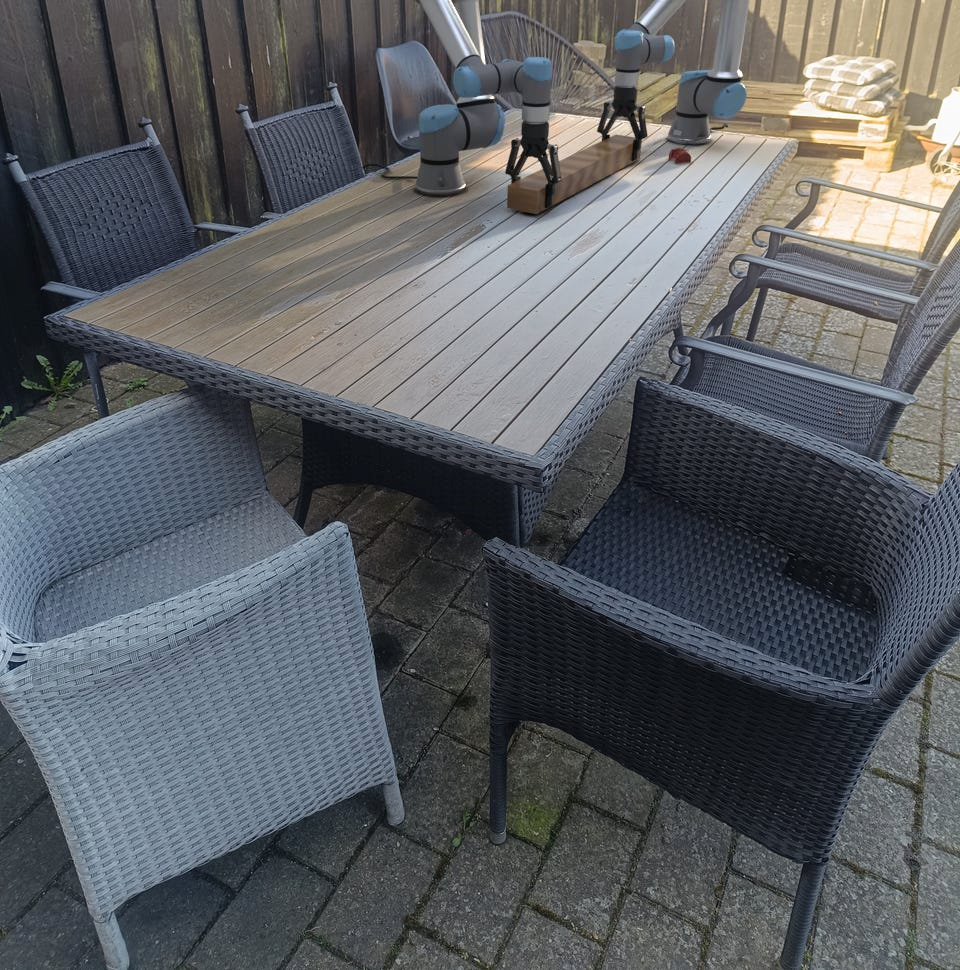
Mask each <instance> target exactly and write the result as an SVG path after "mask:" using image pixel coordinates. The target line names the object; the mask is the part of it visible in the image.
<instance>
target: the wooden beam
mask: <svg viewBox="0 0 960 970" xmlns="http://www.w3.org/2000/svg"><path fill="white" fill-rule="evenodd" d="M635 139H636V138H635V136H629V135H623V134H613V135H610V137H609V138H607V139H605V140H603V141H602V140H601V141H598V142H597V143H595V144H591V145H590V146H588V147H586V148H584V149H581V150H580V151H578V152H575V153H573V154H571V155H569V156H567V157H565V158H562V159H559V164H560V170H561V176H562V181H560V182H558V183H556V184H555V194H554V195H553V196H552V206H555V205H557V204H559V203H561V202H562V201H564V200H566V199H567V198H570V197H571V196H573V195H575V194H577V193H579V192H581V191H582V190H584V189H586V188H588V187H590V186H591V185H594V184H595V183H597V182H599V181H601V180H603V179H605V178H607V177H608V176H610V175H612V174H613V173H615V172H616V173H617V172H618V171H619V170H621V169H623V168H625V167H627V166H629V165H631V164H632V163H634V162H636V161H637V160H640V159H641V153H642V147H641V148H640V150H638V152H637V159H636V160H635V161H631V159H632V149H633V140H635ZM642 143H643V139H642V140H641V145H642ZM550 166H551V164H550ZM551 168H552V166H551ZM546 184H548V181H547V178H546V176H545V173H544V171H543V168H541V169H539V170H537V171H535V172H533V173H531V174H528V175H526V176H524V177H523V178H522V177H521V179H520V180H518V181H516V182H514V183H511V182H510V183H509V184H507V191H506V192H507V193H506V194H507V195H506V196H507V199H506V209H509V210H512V211H513V210H514V211H518V212H524V213H529V214H533V215H539V214H540V213H542V212H543V211H545V210H548V209H549V208H551V207H552V206H550V207H548V208H545V190H546Z"/></svg>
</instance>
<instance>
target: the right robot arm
mask: <svg viewBox="0 0 960 970" xmlns="http://www.w3.org/2000/svg"><path fill="white" fill-rule="evenodd" d="M686 1H687V0H654V1H653V2H651V4H650V5H649V6H648V7H647V8H646V9H645V11H644V12H643V13H642V14H641V15H640V16H639V17H638V18H637V20H636V21H635V22H634V23H633V24H632V25H631V26H630V27H629V28H625V29H621V30H619V31H618V32H617V34H616V36H615V37H614V41H613V45H614V49H615V51H616V63H615V65H616V66H615V77H614V85H615V86H614V87H613V100H612V101H611V100H607V101H604V103H603V111H602V114H601V117H600V120H599V123H598V126H597V129H596V132H597V133H599V134H601V141H603V140H605V139H607V138H609V137H611V134H609V133H610V130H611V129H612V128H613V126H614V124H615V122H616V121H617V119H618V118H620V117H622V118H627V121H629V124H630V127H631V131H632V133H633V137H635V138H636V139H635V140H633V149H632V159H631V161H634V162H636V161H637V160H636V159H637V152H638V150H640V148H641V149H642V144H641V140H642V141H643V140H644V139H646V138H648V129H647V122H646V121H647V120H646V113H645V112H646V105H640V104H638V103H637V102H638V101H637V99H638V91H639V87H638V85H639V81H640V71H641V66H642V65H644V64H654V63H656V64H657V63H664V62H668V61H670V60H671V59H672V58H673V56H674V54H675V47H676V46H675V41H674V39H673V37H672V36H670V35H669V34H667V35H664V34H661V35H657V33H658V32H659V31H660V30H661V29H662V28H663V26H665V24H666V23H667V22H668V21H669V20H670V19H671V18H672V16H673V15H674V14H675V13H676V12H677V11H678V10H679V9H680V8H681V7H682V5H683V4H684V3H685V2H686ZM749 6H750V0H721V6H720V11H719V12H720V13H719V19H718V28H717V34H716V42H715V49H714V55H713V64H712V68H711V69H704V70H701V69H700V70H689V71H684V72H683V73H682V74H681V75H680V80H679V83H678V90H677V91H678V92H677V98H676V99H677V100H676V107H675V109H676V110H675V117H674V119H673V121H672V123H671V126H670V128H669V131H668V133H667V140H668V141H669V142H671V143H675V144H678V145H689V146H693V145H694V146H696V145H698V146H699V145H705V144H709V143H710V142H711V137H712V135H711V133H712V131H720V130H723V129H725V128H729V124H728V123H727V122H726V123H723V125H721V126H714V127H710V121H709V116H712V117H714V118H717V119H724V120H728V119H729V120H730V119H732V118H734V117H735V116H736V115H737V114H738V113H739V112H740V111H741V110H742V109H743V107H744V105H745V104H746V101H747V95H748V94H747V92H748V91H747V88H746V86H745V85H744V84H743V83H742V82H743V73H742V71H741V70H740V65H741V57H742V51H743V44H744V40H745V39H744V38H745V32H746V26H747V20H748V13H749ZM611 109H613V112H612V114H611V117H610V118H609V120H608V117H609V114H610V111H611ZM635 111H636V112H637V118H638V121H637V118H636V114H635ZM607 120H608V122H607ZM635 160H636V161H635Z"/></svg>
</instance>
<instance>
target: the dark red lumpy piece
mask: <svg viewBox="0 0 960 970" xmlns="http://www.w3.org/2000/svg"><path fill="white" fill-rule="evenodd" d="M668 160H674V161H673V162H674V164H682V163H683V164H684V163H691V162H692V155H691V153H690V151H689V150H687V149H684V148H683V147H680V146H679V147H674V148H671V149H670V151H669V153H668Z"/></svg>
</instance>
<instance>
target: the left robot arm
mask: <svg viewBox="0 0 960 970" xmlns="http://www.w3.org/2000/svg"><path fill="white" fill-rule="evenodd" d="M414 1H415V2H416V3H417V4H418V5H421V7H422V8H423V10H424V12H425V14H426V16H427V19H428V20H429V22H430V24H431V26H432V28H433V30H434V32H435V34H436V37H437V38H438V40H439V42H440V43H441V45H442V48H443V50H444V51H445V54H446V55H447V57H448V59H449V61H450V63H451V64H452V67H453V68H454V72H453V75H452V85H453V88H454V89H453V90H454V91H455V93H456V95H457V96H458V99H457V101H456V102H455V104H453V103H452V104H449V103H444V104H437V105H432V106H429V107H426V108H425V109H423V110H422V111H421V112H420V114H419V116H418V118H419V119H418V136H419V138H418V139H419V157H420V158H419V159H420V161H419V162H420V164H419V168H418V172H417V175H416V176H415V175H394V176H393V175H391V176H390V175H387V174H388V173H390V171H391V169H390V168H389V167H388V166H385V165H383V164H380V163H379V164H378V163H373V162H371V163H365V164H364V165H363V166H362V167H361V169H364V170H365V169H366V168H368V167H378V168H382V169H384V170H385V171H383V172H382V173H380V177H381V178H383V179H387V180H390V179H391V180H400V179H401V180H402V179H403V180H404V179H405V180H415V183H414V184H415V185H414V186H415V192H417V193H418V194H420V195H424V196H430V197H450V196H455V195H459V194H461V193H463V192H464V191H466V181H465V179H464V176H463V172H462V169H461V165H460V152H463V151H469V150H477V149H486V148H488V147H492V146H496V145H497V144H498V143H500V141H501V140H502V137H503V136H504V133H505V128H506V118H505V117H506V116H505V113H504V111H503V108H502V107H501V105H499V104H497V103H496V97H495V96H494V95H500V94H507V93H516V94H517V93H518V94H521V95H522V99H521V103H522V104H521V120H522V122H521V131H520V132H521V133H520V135H521V138H520V139H519V137H516V138H514V139H512V140H511V141H510V146H511V148H510V152H509V155H508V156H509V157H508V160H507V162H506V168H505V171H504V173H505V175H509V176H510V178H511V179H510V184H511V183H514V182H516V181H518V180H520V179H522V177H521V176H520V173H521V171H522V169H523V167H524V165H525V164H526V162H527V160H528V158H535V159H537V160H538V162H539V163H540V166H541V169H543V171H544V173H545V176H546V178H547V181H548V184H546V190H545V208H547V209H549V208H551V207H552V196H553V195H554V194H555V184H556V183H558V182H560V181H562V176H561V170H560V164H559V161H560V159H559V154H558V153H559V145H558V144H557V143H555V144H551V143H550V142H549V135H550V122H549V120H550V113H551V112H550V110H551V93H552V79H553V73H552V60H551V59H549V58H548V57H541V56H530V57H527V58H525V59H523V62H522V61H519V60H518V59H514V58H513V59H509V58H505V59H503V60H501V61H500V62H496V63H495V62H494V63H486V57H485V48H484V47H485V46H484V40H483V30H482V29H483V28H482V21H481V14H480V5H479V2H480V0H414ZM520 148H522V151H521V152H520V153H521V154H520V155H519V150H520ZM547 152H548V153H549V156H548V153H547ZM518 155H519V159H518V160H517V158H518ZM549 160H550V161H549ZM550 165H551V166H552V168H551V166H550ZM550 206H551V207H550ZM548 207H549V208H548Z"/></svg>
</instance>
